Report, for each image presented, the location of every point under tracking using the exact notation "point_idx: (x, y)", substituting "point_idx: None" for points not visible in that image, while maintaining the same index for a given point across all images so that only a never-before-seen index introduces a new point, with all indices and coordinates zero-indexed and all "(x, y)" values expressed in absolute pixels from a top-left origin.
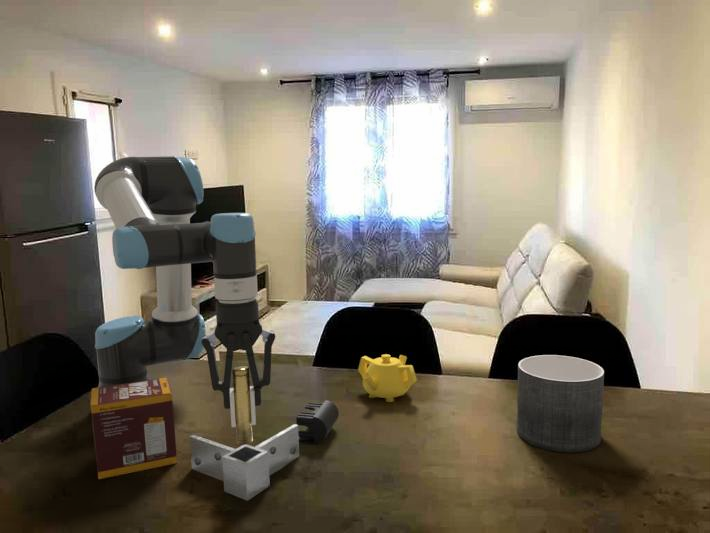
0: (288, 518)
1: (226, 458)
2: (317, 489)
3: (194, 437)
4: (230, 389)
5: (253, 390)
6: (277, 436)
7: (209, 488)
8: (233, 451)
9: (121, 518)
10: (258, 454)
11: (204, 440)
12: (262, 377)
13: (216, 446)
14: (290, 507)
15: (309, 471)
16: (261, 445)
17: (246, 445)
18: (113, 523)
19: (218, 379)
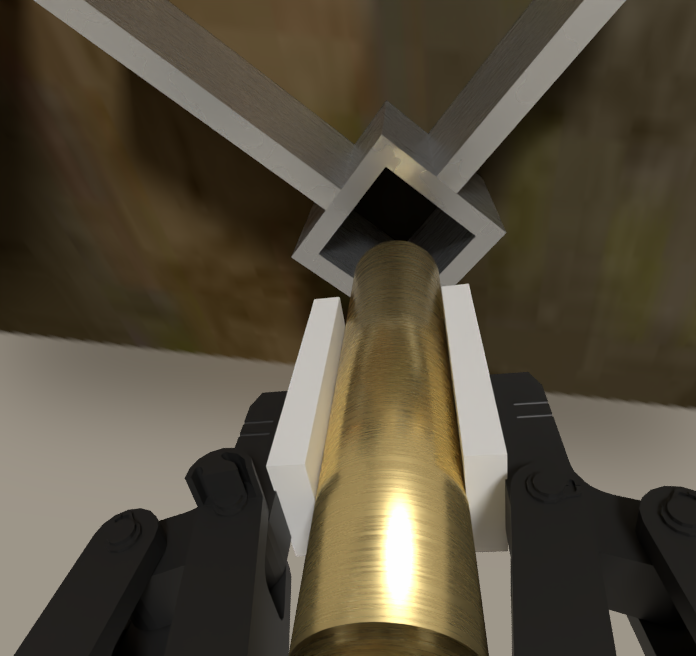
0: (532, 360)
1: (314, 271)
2: (662, 221)
3: (62, 11)
4: (281, 490)
5: (501, 538)
6: (574, 50)
7: (254, 171)
8: (334, 214)
9: (52, 308)
10: (458, 257)
11: (140, 62)
12: (641, 564)
13: (231, 140)
14: (545, 313)
15: (669, 71)
16: (473, 164)
17: (391, 156)
18: (46, 326)
19: (137, 589)
